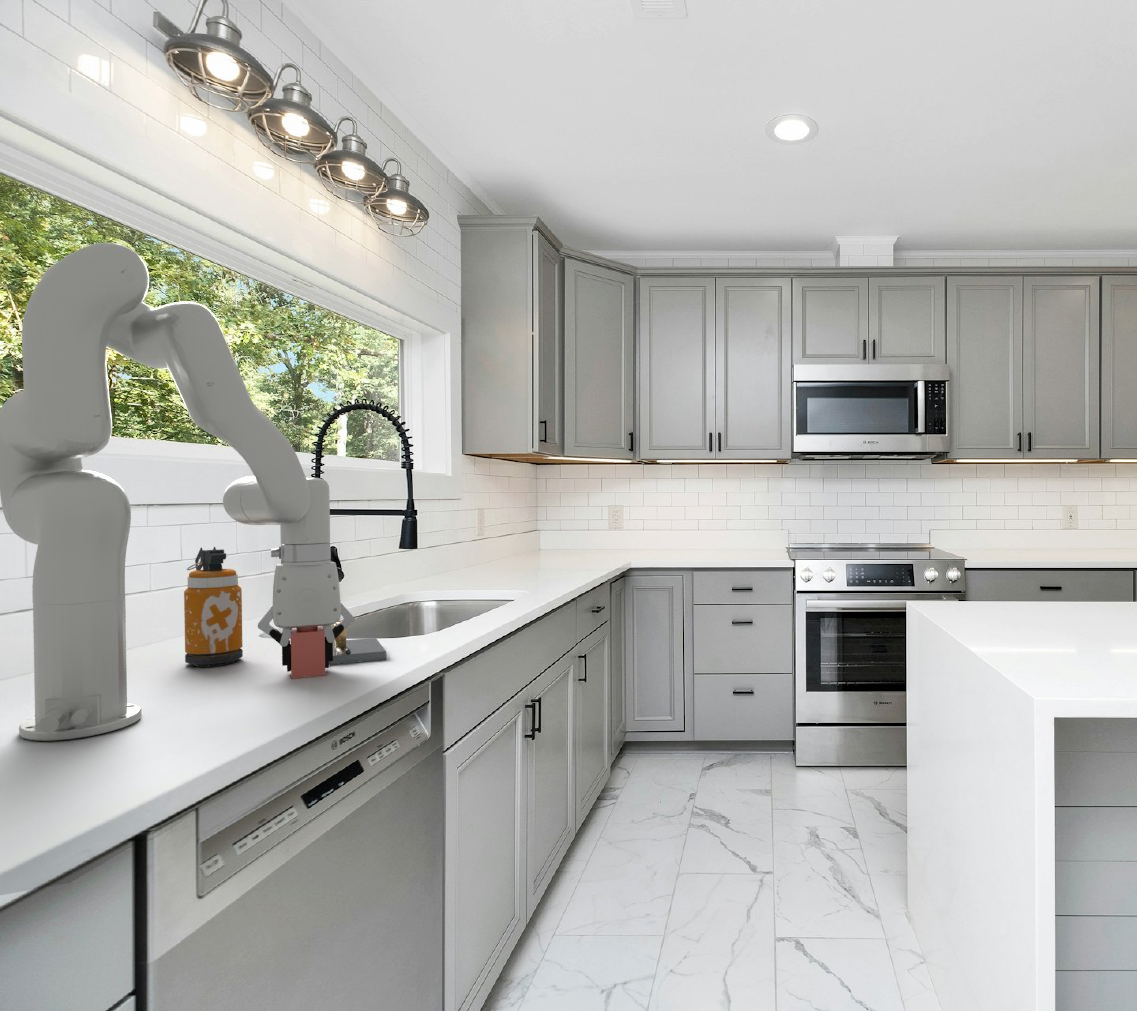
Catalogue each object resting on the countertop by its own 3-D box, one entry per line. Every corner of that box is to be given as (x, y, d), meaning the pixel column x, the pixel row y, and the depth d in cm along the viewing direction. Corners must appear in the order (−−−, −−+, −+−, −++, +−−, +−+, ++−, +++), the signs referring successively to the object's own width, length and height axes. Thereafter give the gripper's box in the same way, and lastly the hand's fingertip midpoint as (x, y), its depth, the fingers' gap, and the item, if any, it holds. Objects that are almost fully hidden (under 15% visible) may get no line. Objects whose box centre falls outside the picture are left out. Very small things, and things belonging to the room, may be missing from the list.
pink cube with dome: (325, 675, 116) (324, 623, 116) (291, 678, 114) (290, 625, 114) (323, 668, 121) (322, 618, 121) (291, 671, 119) (290, 621, 119)
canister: (193, 671, 120) (191, 549, 120) (176, 660, 129) (174, 547, 129) (249, 662, 126) (247, 546, 126) (229, 653, 135) (228, 544, 134)
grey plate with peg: (386, 660, 126) (385, 625, 126) (300, 668, 121) (299, 632, 121) (375, 645, 140) (375, 614, 140) (297, 652, 135) (297, 619, 134)
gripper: (247, 558, 111) (249, 678, 111) (363, 554, 117) (365, 667, 117) (248, 555, 118) (250, 668, 118) (358, 551, 124) (360, 658, 124)
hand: (307, 666), depth 117 cm, fingers closed on pink cube with dome, 4 cm apart
